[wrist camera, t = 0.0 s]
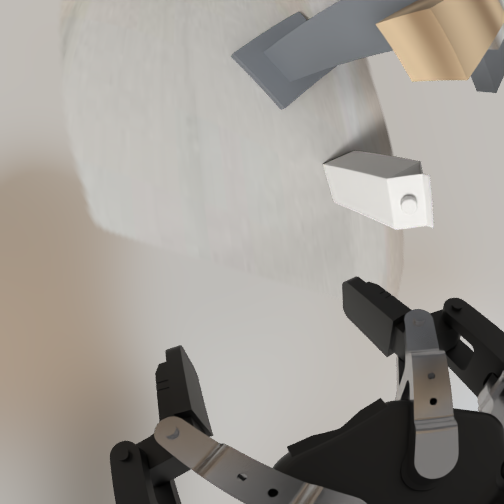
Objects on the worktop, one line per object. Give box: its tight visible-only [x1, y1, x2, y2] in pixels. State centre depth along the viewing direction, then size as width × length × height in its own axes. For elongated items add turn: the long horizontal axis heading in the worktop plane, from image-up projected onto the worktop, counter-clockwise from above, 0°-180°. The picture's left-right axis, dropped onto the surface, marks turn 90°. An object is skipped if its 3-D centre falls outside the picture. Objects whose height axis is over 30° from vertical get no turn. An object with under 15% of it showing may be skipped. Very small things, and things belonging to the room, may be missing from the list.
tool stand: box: [231, 0, 504, 109], centre depth 19 cm, size 14×11×32 cm
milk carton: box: [323, 151, 434, 230], centre depth 35 cm, size 7×7×19 cm
